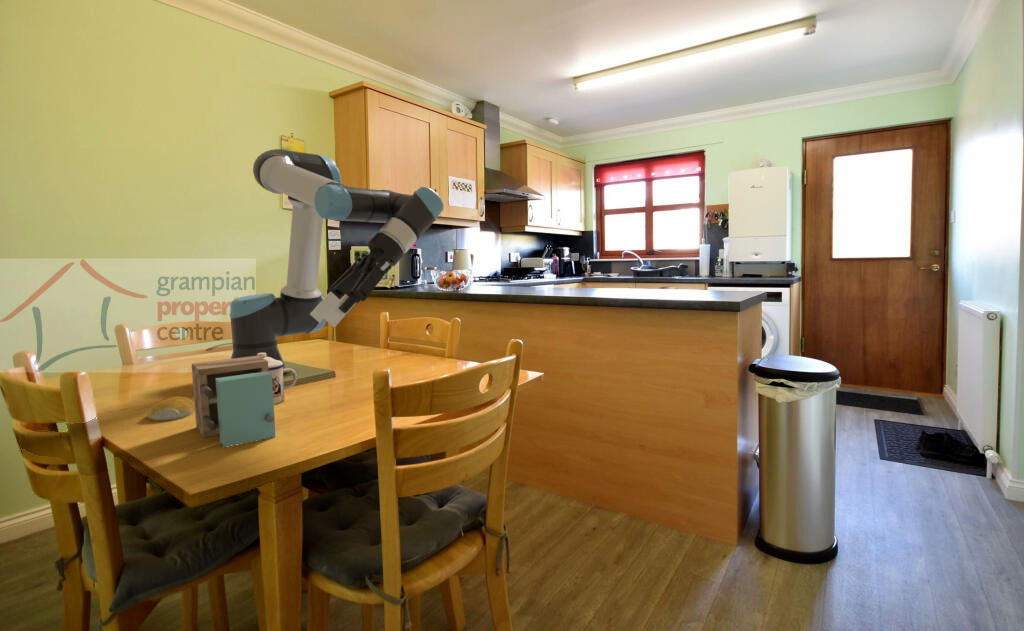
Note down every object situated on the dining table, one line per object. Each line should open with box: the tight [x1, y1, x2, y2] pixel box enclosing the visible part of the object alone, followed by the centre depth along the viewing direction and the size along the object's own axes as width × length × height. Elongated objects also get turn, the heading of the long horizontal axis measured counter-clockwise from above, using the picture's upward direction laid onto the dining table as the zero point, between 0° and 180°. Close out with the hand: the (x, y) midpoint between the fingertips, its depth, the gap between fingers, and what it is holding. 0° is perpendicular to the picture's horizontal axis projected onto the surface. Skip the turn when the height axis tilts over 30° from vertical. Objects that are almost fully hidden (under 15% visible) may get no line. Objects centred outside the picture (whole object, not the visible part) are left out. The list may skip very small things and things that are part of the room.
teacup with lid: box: [257, 353, 298, 405], centre depth 122 cm, size 12×9×12 cm
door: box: [215, 371, 277, 448], centre depth 95 cm, size 4×9×12 cm, turn 130°
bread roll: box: [147, 395, 195, 422], centre depth 112 cm, size 8×9×4 cm
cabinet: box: [191, 356, 269, 438], centre depth 101 cm, size 14×12×13 cm
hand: (321, 320), depth 107 cm, fingers open, 8 cm apart
